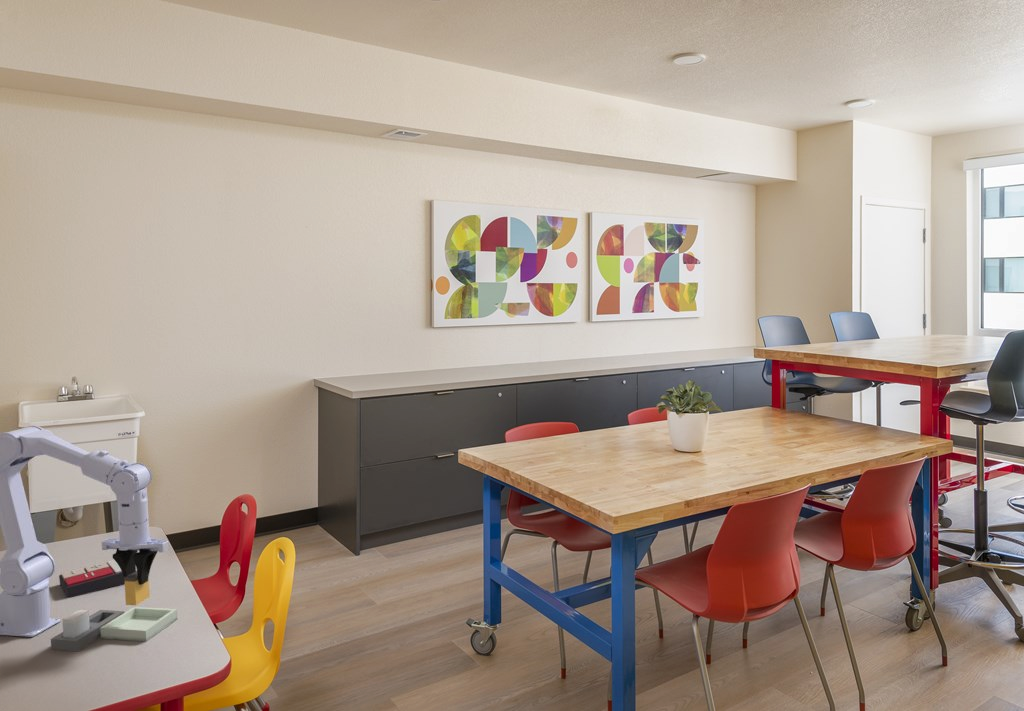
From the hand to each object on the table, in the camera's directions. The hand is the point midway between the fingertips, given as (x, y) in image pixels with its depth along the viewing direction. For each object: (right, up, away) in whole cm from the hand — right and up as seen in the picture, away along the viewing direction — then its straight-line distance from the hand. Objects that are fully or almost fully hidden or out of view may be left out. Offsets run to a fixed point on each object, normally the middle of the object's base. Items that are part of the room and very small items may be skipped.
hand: (137, 582), depth 153 cm
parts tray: (0, -10, +1) cm, 10 cm away
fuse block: (-9, -11, -2) cm, 14 cm away
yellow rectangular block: (0, -4, 0) cm, 4 cm away
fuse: (-10, -11, -5) cm, 15 cm away
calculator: (-24, -9, +27) cm, 37 cm away
